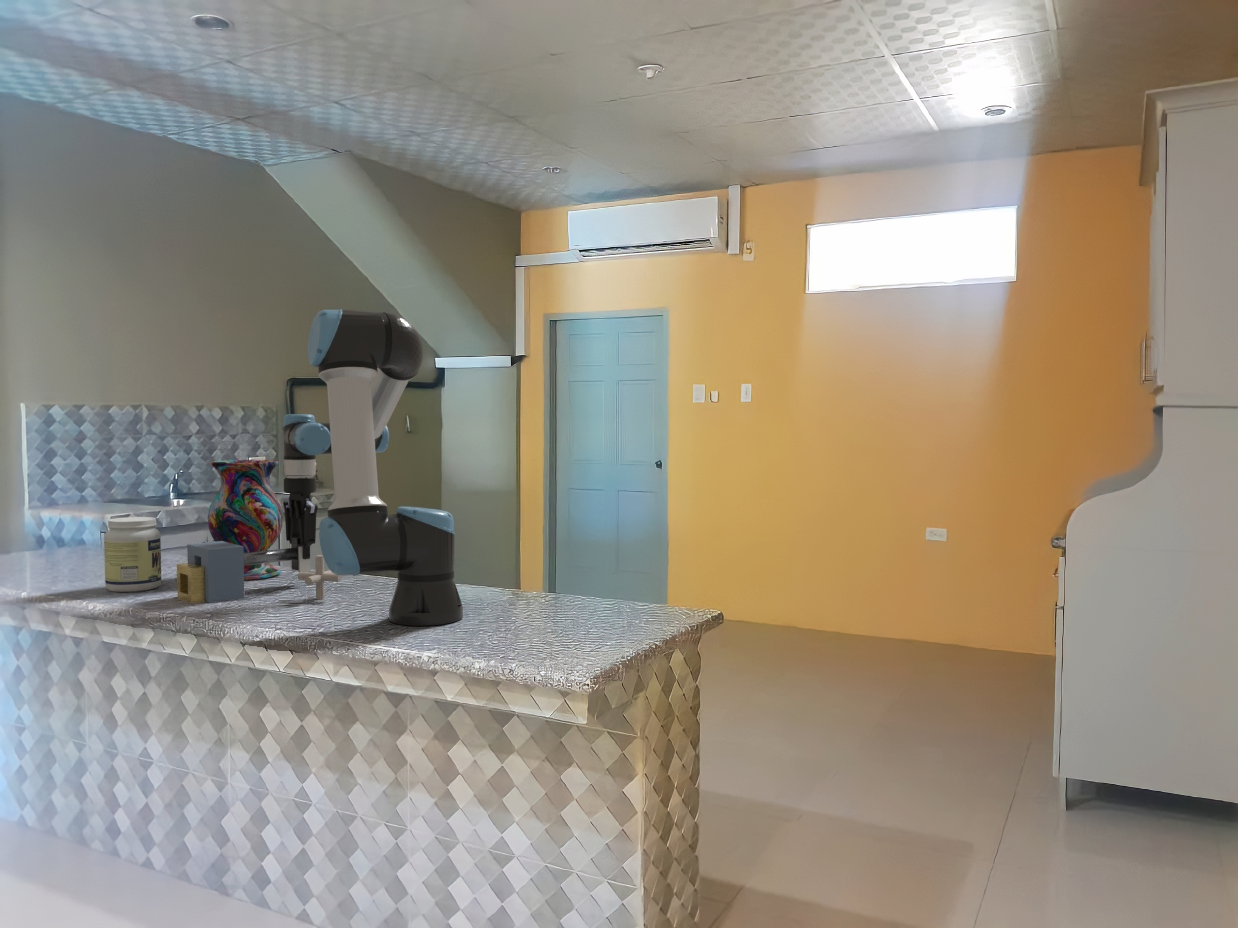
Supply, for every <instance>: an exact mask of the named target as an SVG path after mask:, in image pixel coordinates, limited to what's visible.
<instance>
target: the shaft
mask: <svg viewBox="0 0 1238 928" xmlns="http://www.w3.org/2000/svg"><path fill="white" fill-rule="evenodd" d="M291 543H292V548H291V547H289V548H287V547H286V548H279V549H278V548H277V549H268V550H267V551H258V552H248V553H244V566H246V565H254V564H263V563H269V564H270V563H278V562H279V563H280V562H287V561H291V560H292V563H291V570H292V569H293V570H297V571H298V572H299V553H298V545H297V544H300V536H297V537H291Z"/></svg>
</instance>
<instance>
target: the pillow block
mask: <svg viewBox="0 0 1238 928" xmlns="http://www.w3.org/2000/svg"><path fill="white" fill-rule="evenodd" d="M186 546H187V554H186V555H187V563H193V564H196V565H200V566H203V567H204V571H205V602H204V603H208V604H211V603H218V602H225V601H233V600H239V599H245V580H244V549H243V546H240V545H236V544H232V543H228V542H224V541H217V542H215V541H208V542H197V543H188V544H187V545H186Z"/></svg>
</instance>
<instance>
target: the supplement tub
mask: <svg viewBox="0 0 1238 928" xmlns="http://www.w3.org/2000/svg"><path fill="white" fill-rule="evenodd" d="M157 525H158V523H157V518H156V517H153V516H152V517H151V516H131V517H129V516H127V517H126V516H125V517H117V518H115V517H114V518H111V519H108V520H107V528H108V529H109V530H108V531H106V532H105V534H104V536H103V542H104V543H103V547H104V549H103V550H104V551H103V552H104V555H103V556H104V582H105V583H104V584H105V587H106V589H107V590H108V591H109V592H117V593H132V592H133V593H135V592H143V591H150V590H155V589H157V588H158V587H160V586H161V584H162V547H161V545H162V544H161V543H162V542H161V539H162V538H161V532H160V530H158V529H157V528H156V526H157Z"/></svg>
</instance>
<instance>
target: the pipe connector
mask: <svg viewBox="0 0 1238 928" xmlns="http://www.w3.org/2000/svg"><path fill="white" fill-rule="evenodd" d="M342 576H343V575H336V574H334V573H333V572H331V571H330V569H328V570H327V571H325V560H324V557H323V554H317V555H315V572H300V573H299V572H298V575H297V578H298V580H299V581H304V584H305V585H307V586H311V585H314V584H315V600H317V601H320V600H321V601H322V600H324V599H325V582H334V583H335V582H336V583H337V582H338V583H340V582H342V578H343V577H342Z"/></svg>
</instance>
